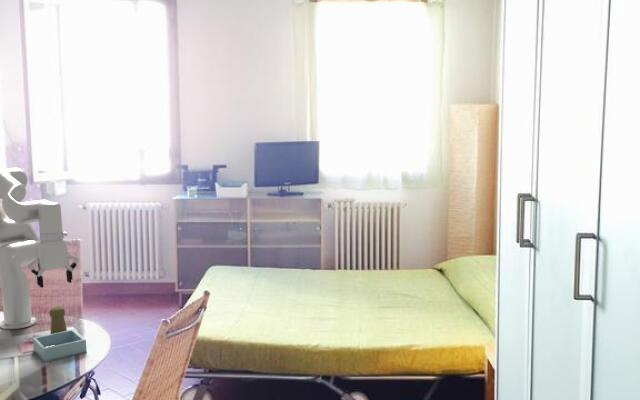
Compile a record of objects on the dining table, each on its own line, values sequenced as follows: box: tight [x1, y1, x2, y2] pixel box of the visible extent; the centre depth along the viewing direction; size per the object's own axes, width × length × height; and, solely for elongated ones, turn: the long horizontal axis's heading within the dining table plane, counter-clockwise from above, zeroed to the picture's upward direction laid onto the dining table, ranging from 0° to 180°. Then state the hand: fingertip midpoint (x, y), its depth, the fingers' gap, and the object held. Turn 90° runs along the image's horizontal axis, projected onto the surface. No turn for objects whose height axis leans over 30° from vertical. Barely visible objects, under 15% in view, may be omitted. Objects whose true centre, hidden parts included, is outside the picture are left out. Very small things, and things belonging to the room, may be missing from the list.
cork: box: [48, 306, 68, 334], centre depth 240 cm, size 6×6×11 cm
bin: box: [32, 329, 87, 363], centre depth 226 cm, size 14×14×4 cm
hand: (55, 284), depth 238 cm, fingers open, 9 cm apart
